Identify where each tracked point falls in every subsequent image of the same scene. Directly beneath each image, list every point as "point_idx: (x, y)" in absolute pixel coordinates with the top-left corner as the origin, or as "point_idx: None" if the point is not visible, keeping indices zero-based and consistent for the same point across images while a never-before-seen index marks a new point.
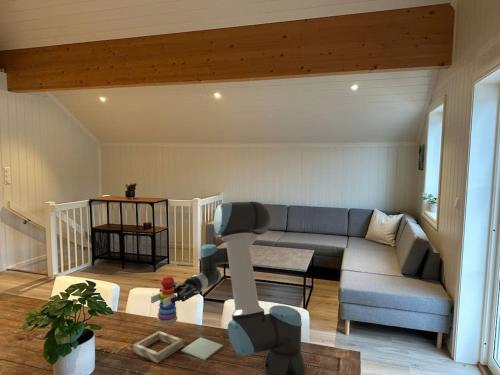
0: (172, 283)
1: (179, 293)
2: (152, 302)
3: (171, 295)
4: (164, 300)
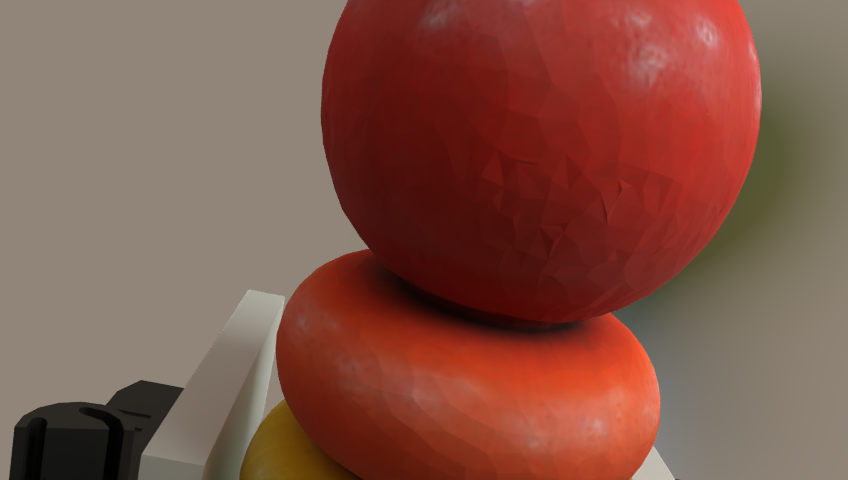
0: (323, 87)
1: (23, 419)
2: None
3: (265, 423)
4: (253, 298)
